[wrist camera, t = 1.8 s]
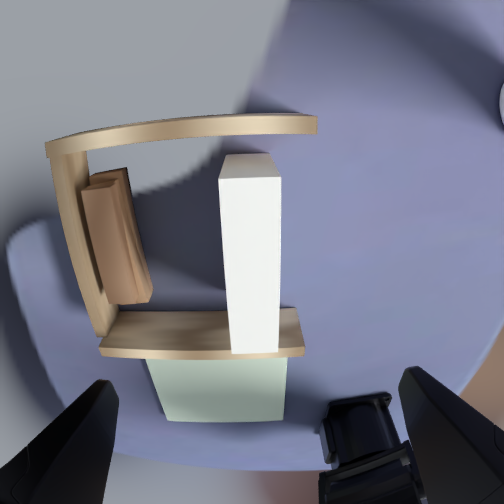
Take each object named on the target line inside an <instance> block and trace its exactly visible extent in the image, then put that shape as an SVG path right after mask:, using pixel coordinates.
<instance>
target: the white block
mask: <svg viewBox="0 0 504 504" xmlns="http://www.w3.org/2000/svg"><path fill="white" fill-rule="evenodd" d="M218 180H219V197H220V213H221V228H222V242H223V256H224V269H225V282H226V294H227V306H228V318H229V330H230V341H231V351H232V354H251V353H274V352H278V343H279V308H280V257H281V176H280V174H279V172H278V170H277V168H276V166H275V164H274V162H273V160H272V158H271V156H270V154H269V153H257V154H229V155H226V157H225V160H224V163H223V166H222V169H221V172H220V176H219V179H218Z"/></svg>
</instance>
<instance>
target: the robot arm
mask: <svg viewBox="0 0 504 504" xmlns="http://www.w3.org/2000/svg"><path fill="white" fill-rule="evenodd" d="M398 391H399V396H400V400H401V405H402V409H403V414H404V419H405V424H406V429H407V432H408V436H409V439H410V442H411V444H410V442H409V440H406V441H404V442H403V443H402V444H401V442H400V439H399V436H398V433H397V431H396V428H395V425H394V423H393V420H392V417H391V415H390V412H389V409H388V406H389V404H390V402H391V399H392V396H391V394H390V393H387V394H382V395H376V396H370V397H364V398H357V399H351V400H343V401H336V402H331V403H330V404H329V405H328V408H327V412H326V416H325V418H324V419H323V420H322V422H321V426H320V430H319V434H320V439H321V445H322V450H323V455H324V460H325V463H326V464H331V467H332V470H330V471H327V472H325V471H324V472H321V473H319V481H318V486H319V504H422V503H421V500H423V499H425V498H427V501H428V504H504V431H503V430H502V429H500V428H499V427H498V426H497V425H494V423H492V422H491V421H490V420H489V419H487V418H486V417H485V416H483V415H482V414H481V413H480V412H478V411H477V410H475V409H474V408H473V407H472V406H470V405H469V404H468V403H466V402H465V401H464V400H462V399H461V398H460V397H459V396H457V395H456V394H455V393H453V392H452V391H451V390H449V389H448V388H447V387H445V386H444V385H443V384H442V383H440V382H439V381H438V380H436V379H435V378H434V377H432V376H431V375H430V374H428V373H427V372H426V371H424V370H423V369H422V368H420V367H419V366H413V367H408V368H406V369H405V371H404V373H403V375H402V378H401V380H400V383H399V386H398ZM118 408H119V398H118V395H117V393H116V391H115V389H114V387H113V385H112V383H111V382H110V381H109V380H102V379H99V380H96V381H95V382H94V383H93V384H92V385H91V386H90V387H89V388H88V389H87V390H86V391H84V392H83V393H82V394H81V395H80V396H79V397H78V398H77V399H76V400H75V401H74V402H73V403H72V404H70V405H69V406H68V407H67V408H66V409H65V410H64V411H63V412H62V413H61V414H60V415H59V416H58V417H57V418H55V419H54V420H53V421H52V423H50V424H49V425H48V426H47V427H46V428H45V429H44V430H43V431H42V432H41V433H39V434H38V435H37V436H36V437H35V438H34V439H33V440H32V441H31V442H30V443H29V444H28V445H27V446H26V447H24V448H23V449H22V450H21V451H20V452H19V453H18V454H17V455H16V456H15V457H14V458H12V459H11V460H10V461H9V462H8V463H7V464H5V465H4V466H3V467H2V468H0V504H102V503H103V498H104V492H105V487H106V481H107V476H108V471H109V467H110V462H111V457H112V453H113V448H114V442H115V434H116V424H117V416H118ZM411 445H412V447H411ZM412 449H413V450H412ZM409 462H410V464H409V465H405V466H403V465H404V464H407V463H409Z"/></svg>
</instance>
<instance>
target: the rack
mask: <svg viewBox="0 0 504 504" xmlns="http://www.w3.org/2000/svg"><path fill="white" fill-rule="evenodd" d="M247 134H317V116H313V115H308V114H303V113H248V114H224V115H207V116H194V117H183V118H173V119H163V120H154V121H147V122H139V123H132V124H126V125H119V126H112V127H107V128H101V129H95V130H90V131H84V132H80V133H76V134H72V135H69V136H65V137H62V138H59V139H55V140H52V141H49V142H46V143H45V148H46V155H47V158H49V157H50V163H51V170H52V176H53V182H54V187H55V192H56V198H57V203H58V207H59V212H60V217H61V221H62V226H63V230H64V234H65V238H66V242H67V246H68V250H69V253H70V257H71V261H72V264H73V268H74V271H75V274H76V278H77V281H78V284H79V288H80V291H81V294H82V297H83V300H84V303H85V306H86V309H87V312H88V314H89V317H90V320H91V323H92V326H93V328H94V331H95V334H96V336H97V337H103V339H102V341H101V343H100V345H99V350H100V352H101V355H102V356H107V357H122V358H140V359H167V360H236V359H264V358H283V357H298V356H304V352H305V344H304V340H303V335H302V331H301V327H300V322H299V318H298V314H297V310H296V308H282V309H279V343H278V352H274V353H251V354H232V351H231V341H230V330H229V318H228V311H177V312H144V311H120V310H119V307H118V304H109V303H108V300H107V297H106V293H105V290H104V287H103V283H102V280H101V276H100V272H99V269H98V265H97V261H96V257H95V253H94V249H93V245H92V241H91V237H90V233H89V228H88V224H87V219H86V214H85V209H84V204H83V199H82V194H81V191H82V190H83V189H85V188H86V187H88V186H91V185H90V180H89V177H90V176H89V169H88V162H87V155H86V150H92V149H98V148H105V147H111V146H118V145H125V144H133V143H141V142H150V141H159V140H169V139H180V138H192V137H206V136H223V135H247Z"/></svg>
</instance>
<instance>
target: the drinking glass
mask: <svg viewBox="0 0 504 504" xmlns="http://www.w3.org/2000/svg"><path fill="white" fill-rule="evenodd" d="M499 106H500V114H501V118H502V121H503V124H504V84H503V86H502V88H501V92H500V99H499Z"/></svg>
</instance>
